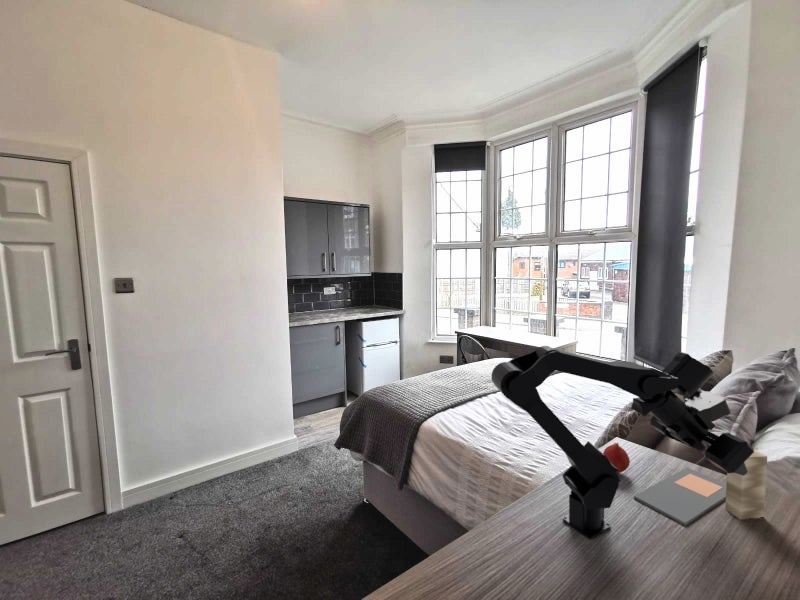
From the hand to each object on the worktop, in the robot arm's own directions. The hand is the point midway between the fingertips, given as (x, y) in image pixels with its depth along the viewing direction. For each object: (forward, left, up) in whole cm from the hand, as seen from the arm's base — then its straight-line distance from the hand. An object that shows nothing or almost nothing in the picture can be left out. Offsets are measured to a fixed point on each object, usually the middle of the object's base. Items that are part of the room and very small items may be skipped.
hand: (723, 460), depth 75 cm
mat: (+2, +7, -12) cm, 14 cm away
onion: (-3, +20, -12) cm, 23 cm away
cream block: (+5, -2, -12) cm, 13 cm away
